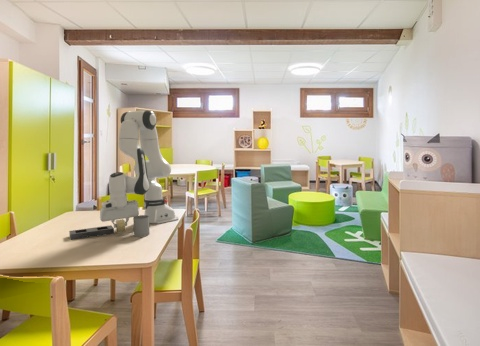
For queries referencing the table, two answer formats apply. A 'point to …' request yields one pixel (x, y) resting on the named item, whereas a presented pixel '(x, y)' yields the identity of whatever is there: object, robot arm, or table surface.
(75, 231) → the rail
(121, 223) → the block
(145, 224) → the cup
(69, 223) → the table surface
